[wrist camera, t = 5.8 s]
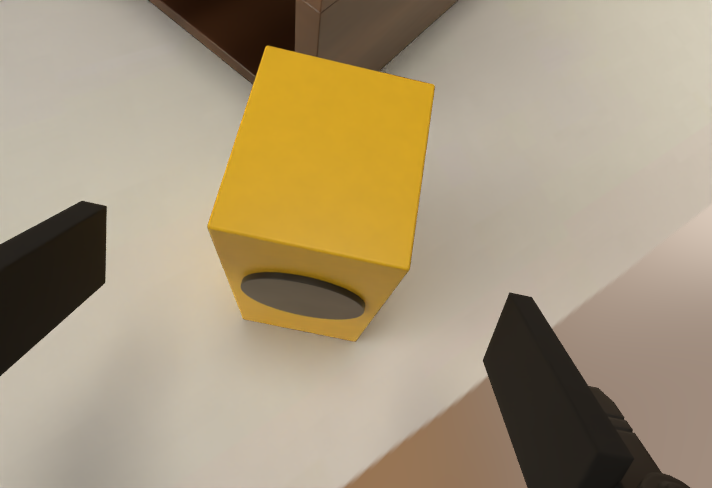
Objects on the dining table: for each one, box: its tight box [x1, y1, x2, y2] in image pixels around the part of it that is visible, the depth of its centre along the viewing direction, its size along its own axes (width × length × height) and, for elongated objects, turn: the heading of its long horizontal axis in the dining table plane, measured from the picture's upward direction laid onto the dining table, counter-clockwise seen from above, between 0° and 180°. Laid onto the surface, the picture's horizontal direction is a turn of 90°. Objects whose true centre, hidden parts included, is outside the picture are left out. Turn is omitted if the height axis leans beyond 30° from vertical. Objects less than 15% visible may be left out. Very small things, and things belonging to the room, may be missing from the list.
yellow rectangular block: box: [207, 46, 435, 341], centre depth 21 cm, size 6×8×12 cm
